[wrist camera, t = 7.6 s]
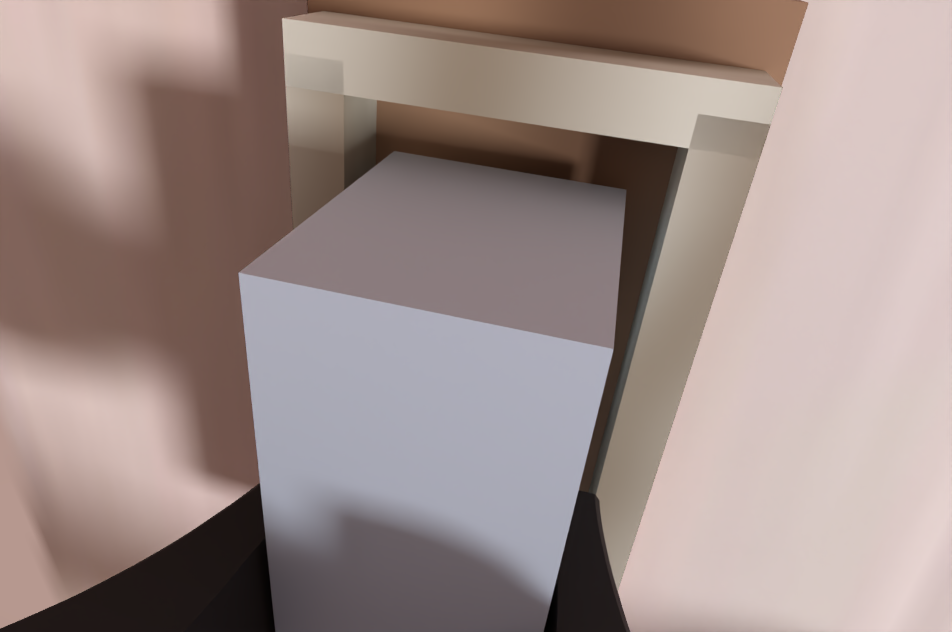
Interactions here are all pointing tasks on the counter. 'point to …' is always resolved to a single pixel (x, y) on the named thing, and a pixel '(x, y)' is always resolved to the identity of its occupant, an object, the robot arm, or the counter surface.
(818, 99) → the counter surface
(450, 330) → the grey box
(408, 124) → the framed wooden panel
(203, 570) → the robot arm
